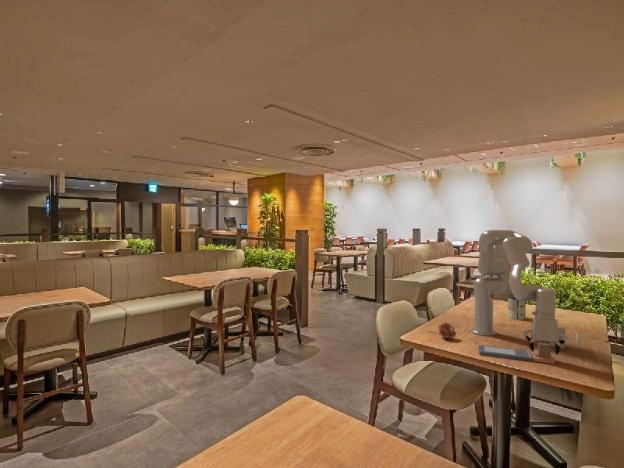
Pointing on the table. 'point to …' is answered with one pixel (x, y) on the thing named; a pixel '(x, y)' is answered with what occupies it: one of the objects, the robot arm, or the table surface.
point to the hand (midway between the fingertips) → (544, 352)
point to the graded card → (576, 335)
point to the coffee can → (516, 308)
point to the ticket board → (505, 353)
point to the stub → (542, 354)
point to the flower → (447, 330)
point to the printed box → (552, 344)
